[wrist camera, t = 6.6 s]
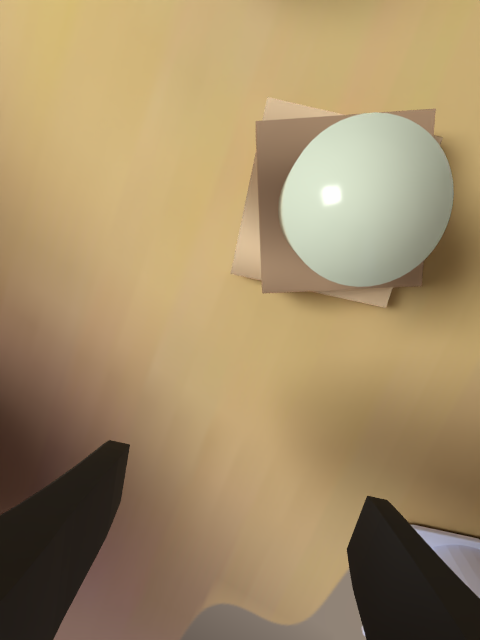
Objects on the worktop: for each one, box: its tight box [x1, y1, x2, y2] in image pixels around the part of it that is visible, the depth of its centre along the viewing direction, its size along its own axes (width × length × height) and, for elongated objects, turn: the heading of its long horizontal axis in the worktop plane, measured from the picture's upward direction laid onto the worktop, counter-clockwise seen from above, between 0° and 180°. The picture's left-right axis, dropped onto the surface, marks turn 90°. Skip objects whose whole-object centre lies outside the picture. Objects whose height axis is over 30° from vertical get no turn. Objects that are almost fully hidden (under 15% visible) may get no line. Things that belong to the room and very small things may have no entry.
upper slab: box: [256, 109, 436, 293], centre depth 16 cm, size 7×7×2 cm
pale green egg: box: [278, 113, 454, 287], centre depth 13 cm, size 5×5×4 cm
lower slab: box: [231, 97, 443, 308], centre depth 18 cm, size 8×8×2 cm
